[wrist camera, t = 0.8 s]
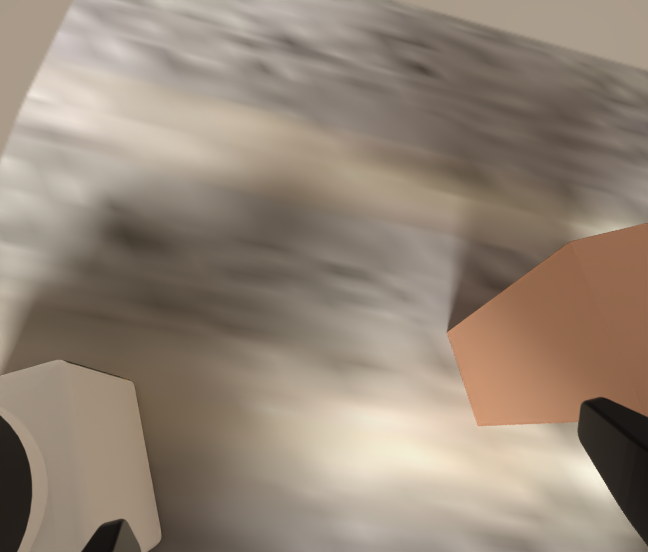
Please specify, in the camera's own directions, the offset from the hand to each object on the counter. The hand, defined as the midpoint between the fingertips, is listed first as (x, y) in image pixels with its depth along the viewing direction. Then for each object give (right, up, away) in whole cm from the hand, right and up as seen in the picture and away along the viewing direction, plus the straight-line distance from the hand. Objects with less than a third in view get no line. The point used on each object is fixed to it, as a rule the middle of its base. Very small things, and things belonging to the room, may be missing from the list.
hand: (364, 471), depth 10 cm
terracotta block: (+8, -1, +14) cm, 16 cm away
